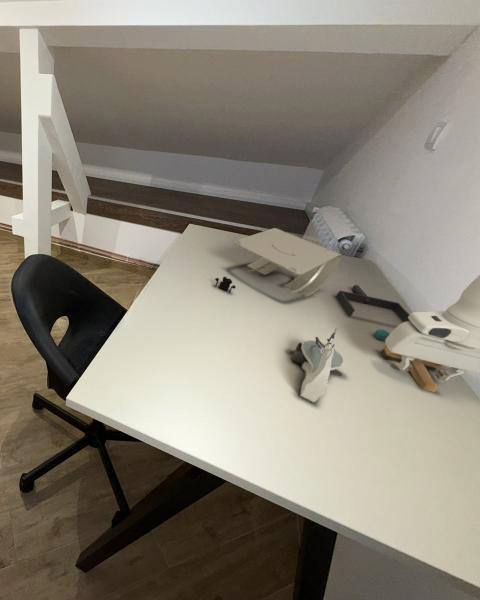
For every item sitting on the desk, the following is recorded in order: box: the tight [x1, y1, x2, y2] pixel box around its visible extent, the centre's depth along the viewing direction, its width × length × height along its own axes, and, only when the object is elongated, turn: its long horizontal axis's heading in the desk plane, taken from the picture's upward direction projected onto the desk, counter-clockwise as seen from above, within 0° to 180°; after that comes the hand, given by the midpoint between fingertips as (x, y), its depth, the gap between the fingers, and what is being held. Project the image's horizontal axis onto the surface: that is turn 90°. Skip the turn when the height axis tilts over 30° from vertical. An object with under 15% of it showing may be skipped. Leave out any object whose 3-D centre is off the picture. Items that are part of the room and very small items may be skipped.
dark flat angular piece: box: [335, 284, 411, 323], centre depth 104 cm, size 22×17×3 cm
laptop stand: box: [233, 227, 343, 298], centre depth 109 cm, size 26×24×16 cm
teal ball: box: [373, 329, 390, 342], centre depth 88 cm, size 3×3×3 cm
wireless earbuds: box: [214, 276, 237, 294], centre depth 104 cm, size 7×2×5 cm, turn 43°
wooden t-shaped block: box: [378, 345, 443, 393], centre depth 77 cm, size 11×12×3 cm
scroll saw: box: [289, 328, 344, 405], centre depth 71 cm, size 20×11×12 cm
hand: (421, 373), depth 76 cm, fingers open, 6 cm apart
